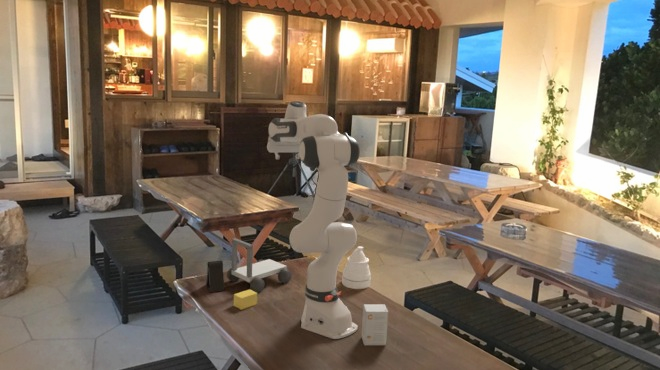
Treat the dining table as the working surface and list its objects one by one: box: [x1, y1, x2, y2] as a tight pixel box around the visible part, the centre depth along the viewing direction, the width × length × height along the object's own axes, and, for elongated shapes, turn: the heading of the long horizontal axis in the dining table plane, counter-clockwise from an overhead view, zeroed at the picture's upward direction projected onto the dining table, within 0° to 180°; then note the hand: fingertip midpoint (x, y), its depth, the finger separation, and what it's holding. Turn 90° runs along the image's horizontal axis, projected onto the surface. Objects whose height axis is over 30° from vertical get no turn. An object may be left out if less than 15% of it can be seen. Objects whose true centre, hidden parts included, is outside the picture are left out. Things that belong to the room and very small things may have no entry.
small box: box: [361, 303, 389, 346], centre depth 193 cm, size 8×6×13 cm
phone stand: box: [205, 260, 225, 293], centre depth 232 cm, size 9×6×12 cm, turn 25°
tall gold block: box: [233, 288, 258, 310], centre depth 218 cm, size 5×8×5 cm, turn 137°
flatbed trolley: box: [226, 238, 293, 294], centre depth 241 cm, size 22×18×21 cm
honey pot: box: [341, 245, 372, 290], centre depth 245 cm, size 13×13×18 cm
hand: (287, 158), depth 248 cm, fingers open, 8 cm apart
